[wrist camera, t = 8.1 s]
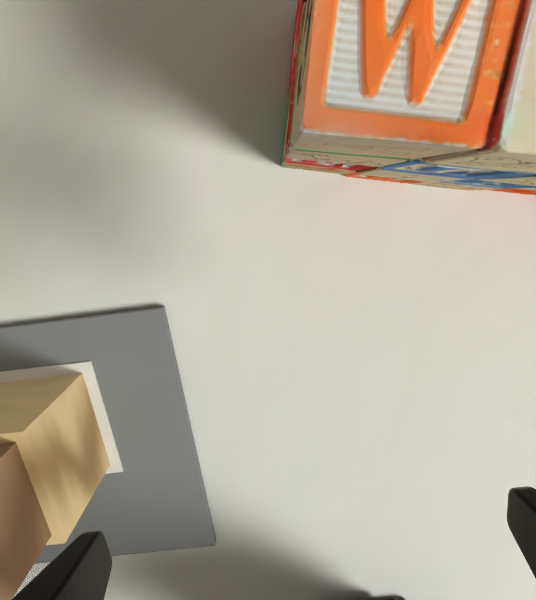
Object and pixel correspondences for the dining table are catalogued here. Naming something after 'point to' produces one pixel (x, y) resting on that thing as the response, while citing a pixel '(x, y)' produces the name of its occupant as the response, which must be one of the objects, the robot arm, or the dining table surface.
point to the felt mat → (124, 425)
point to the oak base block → (55, 445)
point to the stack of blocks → (415, 92)
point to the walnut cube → (18, 522)
